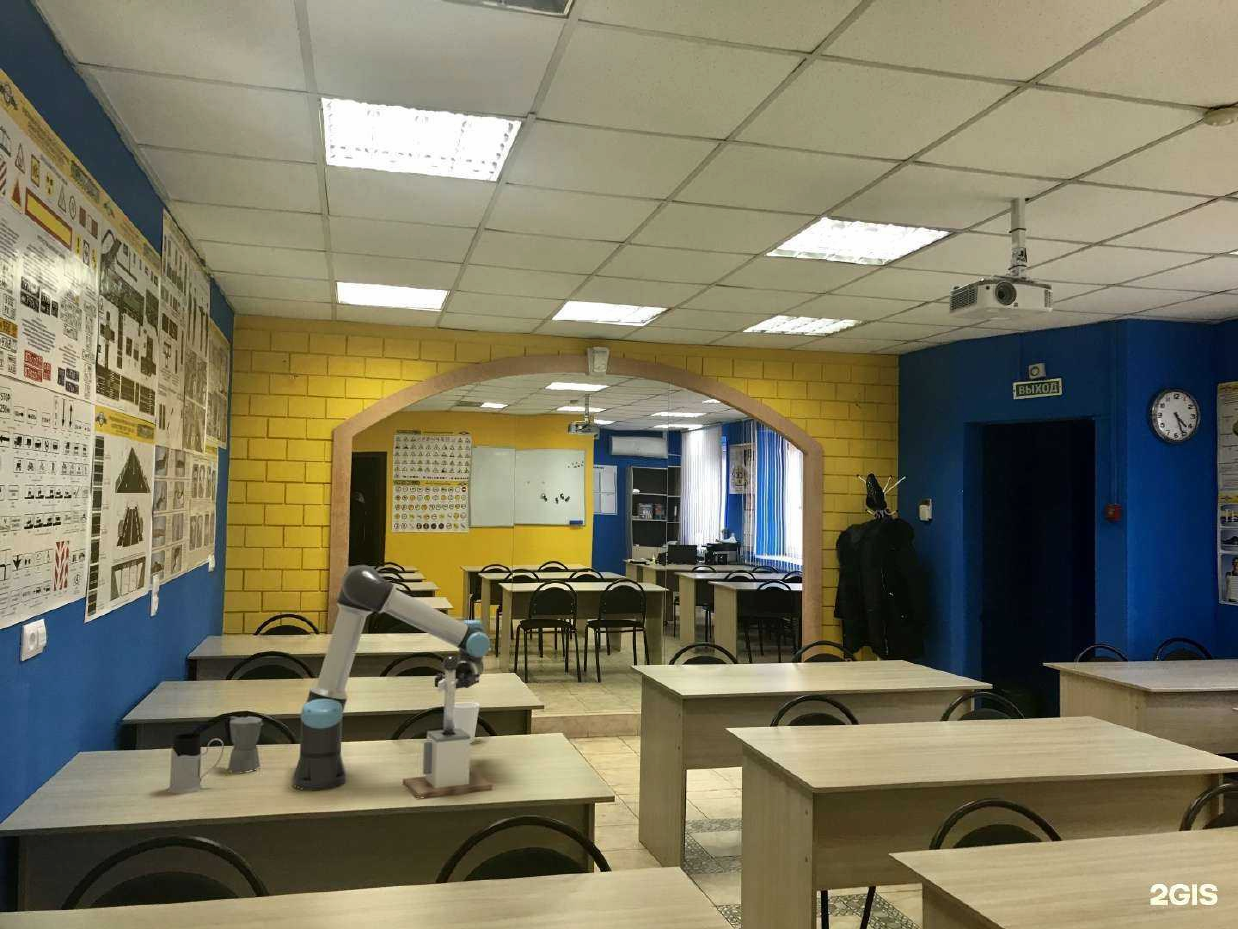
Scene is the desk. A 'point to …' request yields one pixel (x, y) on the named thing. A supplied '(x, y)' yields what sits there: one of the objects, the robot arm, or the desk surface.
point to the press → (447, 758)
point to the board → (425, 789)
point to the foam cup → (466, 717)
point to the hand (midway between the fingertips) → (445, 687)
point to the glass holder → (187, 763)
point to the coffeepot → (243, 742)
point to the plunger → (449, 694)
